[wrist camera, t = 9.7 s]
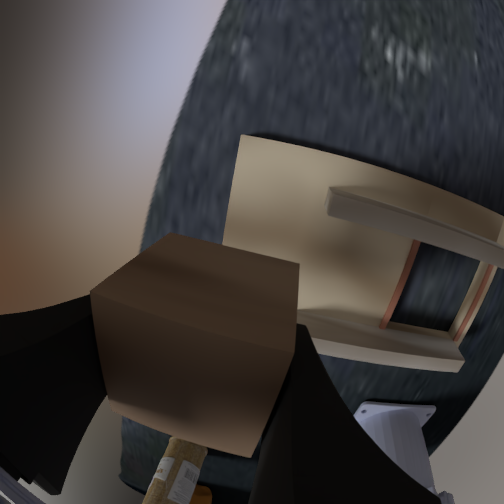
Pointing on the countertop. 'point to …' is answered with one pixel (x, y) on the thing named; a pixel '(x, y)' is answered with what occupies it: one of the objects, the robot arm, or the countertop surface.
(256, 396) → the walnut block
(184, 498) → the sprinkles bottle
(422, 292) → the countertop surface
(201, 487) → the coffee package
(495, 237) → the frame
